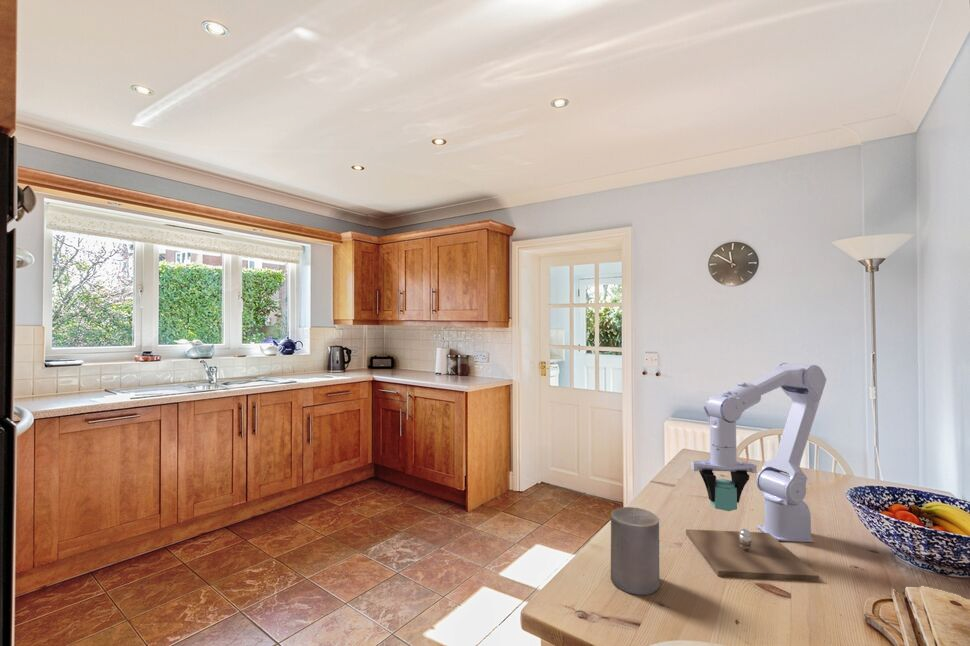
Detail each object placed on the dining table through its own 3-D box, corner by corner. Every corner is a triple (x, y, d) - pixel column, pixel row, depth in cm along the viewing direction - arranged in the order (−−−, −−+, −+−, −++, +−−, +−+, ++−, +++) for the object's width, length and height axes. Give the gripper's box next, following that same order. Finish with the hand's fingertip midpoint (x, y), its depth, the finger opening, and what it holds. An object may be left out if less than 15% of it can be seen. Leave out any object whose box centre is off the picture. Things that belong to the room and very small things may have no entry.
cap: (729, 502, 113) (729, 478, 113) (739, 511, 107) (739, 486, 107) (708, 501, 113) (708, 477, 114) (717, 510, 108) (717, 485, 108)
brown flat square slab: (768, 537, 113) (768, 532, 113) (819, 581, 93) (818, 575, 93) (685, 534, 115) (685, 529, 115) (718, 576, 95) (718, 570, 95)
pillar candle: (605, 569, 98) (605, 500, 99) (650, 570, 98) (650, 500, 98) (617, 595, 89) (617, 518, 89) (667, 596, 88) (666, 519, 89)
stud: (748, 547, 105) (748, 527, 106) (753, 552, 103) (753, 531, 103) (737, 546, 106) (737, 526, 106) (742, 551, 103) (742, 531, 103)
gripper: (746, 441, 114) (747, 496, 113) (686, 440, 115) (687, 493, 115) (760, 449, 107) (761, 506, 106) (696, 447, 108) (697, 504, 108)
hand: (723, 500), depth 110 cm, fingers closed on cap, 5 cm apart
